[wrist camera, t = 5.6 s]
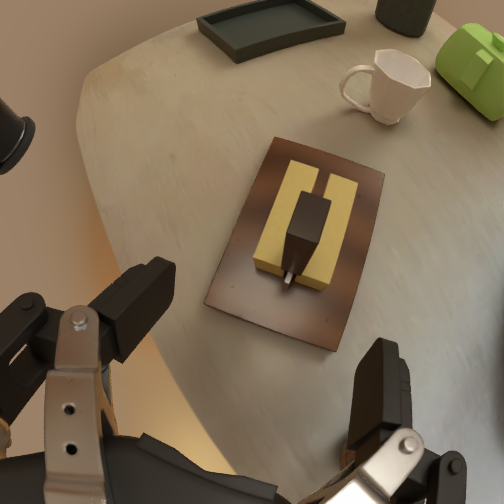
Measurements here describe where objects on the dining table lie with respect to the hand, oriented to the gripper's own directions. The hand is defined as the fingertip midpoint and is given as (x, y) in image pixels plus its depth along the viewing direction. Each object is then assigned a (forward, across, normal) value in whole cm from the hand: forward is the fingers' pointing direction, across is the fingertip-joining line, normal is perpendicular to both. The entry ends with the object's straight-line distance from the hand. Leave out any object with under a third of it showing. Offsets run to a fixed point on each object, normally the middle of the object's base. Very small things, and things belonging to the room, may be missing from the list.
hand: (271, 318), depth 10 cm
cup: (+30, +4, +9) cm, 31 cm away
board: (+17, 0, -4) cm, 17 cm away
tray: (+40, -14, +19) cm, 46 cm away
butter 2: (+16, +2, -4) cm, 16 cm away
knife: (+13, 0, -6) cm, 15 cm away
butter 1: (+16, -2, -4) cm, 16 cm away
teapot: (+41, +22, +20) cm, 51 cm away
